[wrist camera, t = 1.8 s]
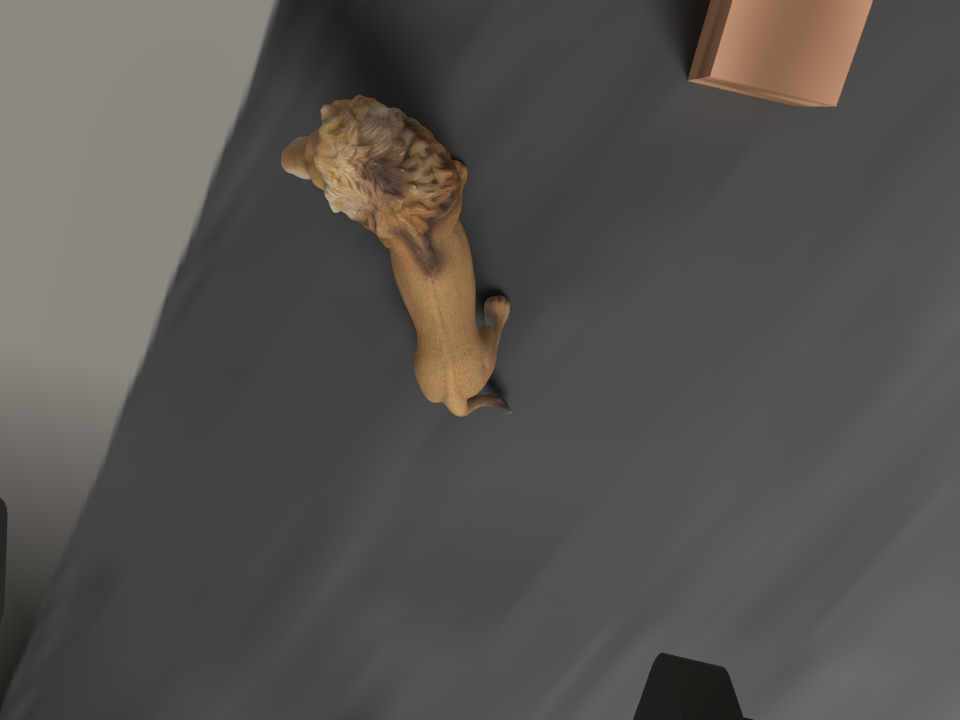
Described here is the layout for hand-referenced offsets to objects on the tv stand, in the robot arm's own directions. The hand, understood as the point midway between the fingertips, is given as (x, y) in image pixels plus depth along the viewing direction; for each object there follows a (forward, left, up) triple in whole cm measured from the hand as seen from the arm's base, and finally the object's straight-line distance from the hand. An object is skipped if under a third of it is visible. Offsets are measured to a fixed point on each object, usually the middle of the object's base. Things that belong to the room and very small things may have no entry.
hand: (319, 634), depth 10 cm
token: (-9, -11, -26) cm, 30 cm away
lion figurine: (+2, 0, -26) cm, 26 cm away
